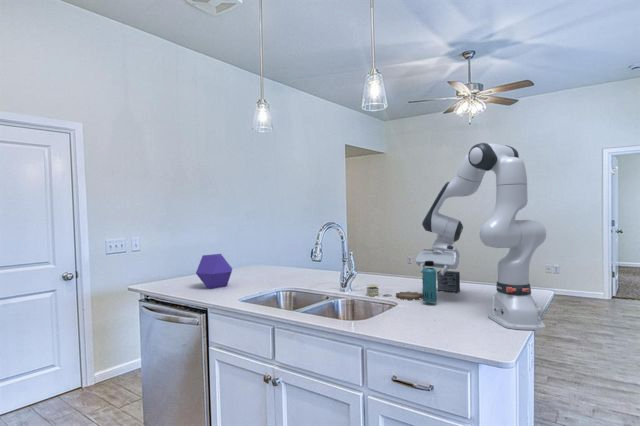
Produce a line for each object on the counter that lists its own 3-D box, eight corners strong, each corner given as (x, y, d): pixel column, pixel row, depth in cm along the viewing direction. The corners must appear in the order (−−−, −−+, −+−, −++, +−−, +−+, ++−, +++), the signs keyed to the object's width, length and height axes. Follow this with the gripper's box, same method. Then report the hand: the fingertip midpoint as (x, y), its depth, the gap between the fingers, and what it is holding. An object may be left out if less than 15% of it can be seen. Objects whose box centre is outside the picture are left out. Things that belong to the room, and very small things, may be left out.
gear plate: (423, 300, 185) (423, 297, 185) (396, 300, 187) (396, 296, 187) (421, 294, 197) (421, 291, 197) (395, 294, 200) (395, 291, 200)
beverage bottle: (434, 302, 181) (433, 259, 181) (439, 305, 175) (438, 261, 174) (420, 302, 181) (420, 260, 181) (424, 306, 174) (424, 261, 174)
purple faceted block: (228, 289, 238) (222, 258, 244) (242, 280, 224) (235, 247, 230) (193, 294, 223) (187, 261, 229) (205, 285, 209) (199, 250, 215)
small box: (460, 291, 205) (460, 271, 205) (457, 293, 200) (457, 273, 200) (440, 289, 211) (440, 269, 211) (437, 291, 205) (436, 271, 205)
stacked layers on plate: (385, 297, 195) (385, 286, 194) (370, 299, 191) (370, 288, 191) (375, 293, 204) (375, 283, 204) (360, 295, 200) (360, 284, 200)
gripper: (419, 245, 192) (409, 267, 185) (459, 247, 178) (450, 271, 171) (423, 253, 195) (414, 275, 188) (463, 256, 181) (454, 279, 174)
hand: (431, 273), depth 179 cm, fingers open, 8 cm apart
